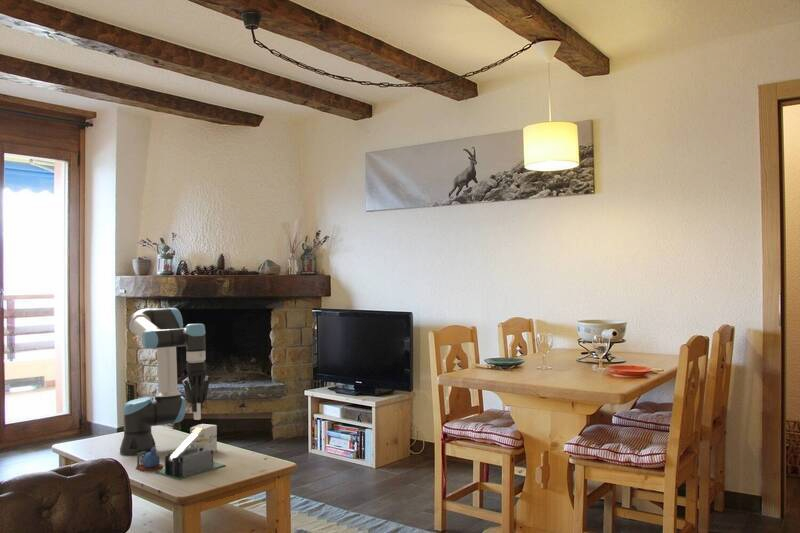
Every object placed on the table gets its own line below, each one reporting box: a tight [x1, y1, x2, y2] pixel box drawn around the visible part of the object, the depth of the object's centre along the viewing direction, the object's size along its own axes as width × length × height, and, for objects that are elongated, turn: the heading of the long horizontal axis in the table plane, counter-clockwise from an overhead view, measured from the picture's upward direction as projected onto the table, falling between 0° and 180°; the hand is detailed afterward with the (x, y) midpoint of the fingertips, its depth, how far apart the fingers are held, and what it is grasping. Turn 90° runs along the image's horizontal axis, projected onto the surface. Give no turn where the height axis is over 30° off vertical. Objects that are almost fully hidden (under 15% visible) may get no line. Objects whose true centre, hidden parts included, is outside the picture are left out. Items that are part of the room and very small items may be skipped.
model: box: [135, 447, 164, 473], centre depth 271 cm, size 12×9×9 cm
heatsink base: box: [155, 447, 227, 480], centre depth 267 cm, size 16×22×8 cm
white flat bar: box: [167, 428, 204, 462], centre depth 264 cm, size 17×4×2 cm
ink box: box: [189, 423, 218, 453], centre depth 295 cm, size 9×8×12 cm
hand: (197, 419), depth 268 cm, fingers closed
